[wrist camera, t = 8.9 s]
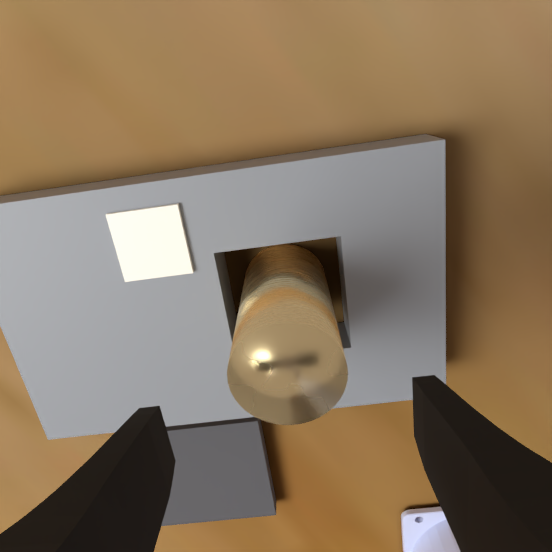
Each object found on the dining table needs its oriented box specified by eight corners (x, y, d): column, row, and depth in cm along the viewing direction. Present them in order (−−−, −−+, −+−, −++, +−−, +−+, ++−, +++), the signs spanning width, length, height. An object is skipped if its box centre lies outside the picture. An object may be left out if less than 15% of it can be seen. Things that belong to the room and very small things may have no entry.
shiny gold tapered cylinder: (324, 241, 22) (347, 319, 14) (326, 316, 23) (348, 421, 16) (240, 246, 22) (220, 326, 14) (248, 320, 23) (233, 427, 16)
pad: (258, 409, 25) (257, 420, 24) (276, 500, 28) (276, 515, 27) (136, 422, 26) (131, 434, 25) (165, 511, 28) (161, 525, 27)
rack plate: (425, 134, 20) (447, 139, 17) (430, 366, 24) (447, 398, 22) (-12, 197, 21) (-52, 211, 18) (69, 407, 25) (46, 442, 23)
